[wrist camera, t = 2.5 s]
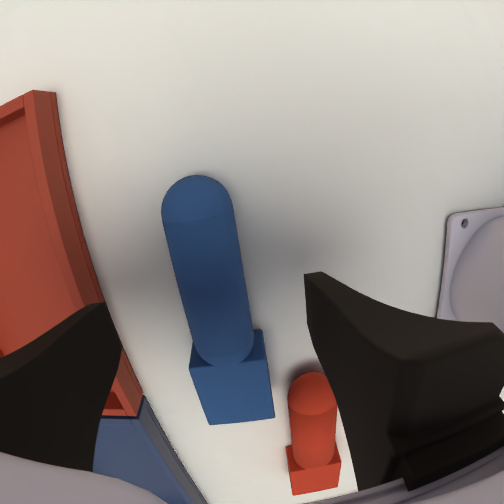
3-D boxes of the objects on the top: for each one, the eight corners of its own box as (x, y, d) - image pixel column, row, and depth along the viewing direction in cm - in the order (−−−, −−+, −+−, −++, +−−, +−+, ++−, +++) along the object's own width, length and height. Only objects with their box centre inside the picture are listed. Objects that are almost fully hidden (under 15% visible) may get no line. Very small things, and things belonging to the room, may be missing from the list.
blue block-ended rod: (154, 179, 13) (135, 191, 11) (237, 164, 13) (238, 173, 11) (210, 395, 18) (208, 431, 15) (271, 388, 18) (276, 424, 15)
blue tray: (145, 396, 18) (138, 419, 16) (209, 505, 24) (208, 521, 22) (26, 392, 18) (15, 409, 16) (116, 500, 24) (113, 515, 22)
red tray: (55, 92, 11) (33, 89, 10) (143, 392, 18) (137, 416, 16) (-63, 156, 11) (-85, 162, 10) (24, 389, 18) (13, 407, 16)
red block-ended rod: (275, 368, 17) (281, 404, 15) (338, 356, 17) (352, 390, 15) (288, 472, 22) (293, 499, 19) (332, 464, 22) (339, 491, 19)
